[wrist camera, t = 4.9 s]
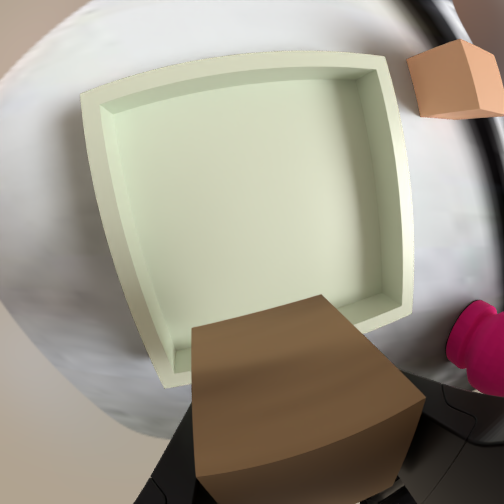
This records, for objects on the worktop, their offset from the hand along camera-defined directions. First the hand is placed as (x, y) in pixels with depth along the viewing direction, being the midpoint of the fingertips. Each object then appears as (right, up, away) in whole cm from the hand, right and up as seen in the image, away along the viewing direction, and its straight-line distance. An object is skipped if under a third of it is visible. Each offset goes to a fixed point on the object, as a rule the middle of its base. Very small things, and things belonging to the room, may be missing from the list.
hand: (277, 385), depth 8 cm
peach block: (+11, +15, +6) cm, 19 cm away
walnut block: (0, 0, +1) cm, 1 cm away
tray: (0, +6, +6) cm, 8 cm away
